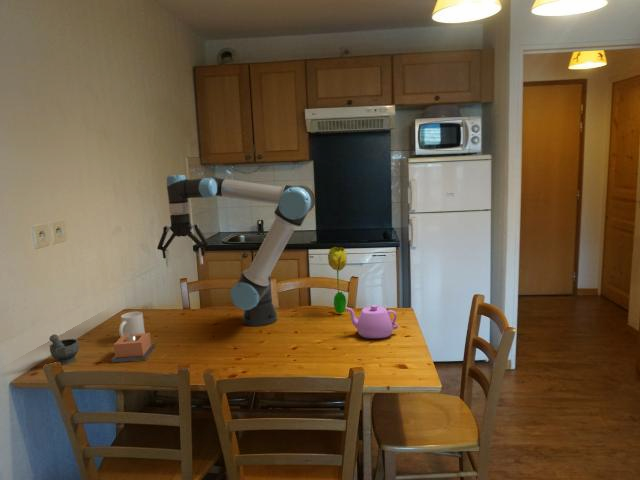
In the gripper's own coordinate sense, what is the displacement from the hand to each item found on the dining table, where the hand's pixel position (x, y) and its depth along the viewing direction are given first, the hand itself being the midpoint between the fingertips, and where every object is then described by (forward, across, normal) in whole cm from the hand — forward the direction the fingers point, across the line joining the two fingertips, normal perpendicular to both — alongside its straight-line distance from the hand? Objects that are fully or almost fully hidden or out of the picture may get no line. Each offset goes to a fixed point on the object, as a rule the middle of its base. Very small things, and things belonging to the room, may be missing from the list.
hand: (185, 264), depth 198 cm
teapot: (+29, -73, +19) cm, 81 cm away
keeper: (+29, +17, +22) cm, 40 cm away
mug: (+29, +24, +5) cm, 38 cm away
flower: (+29, -63, -8) cm, 70 cm away
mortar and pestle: (+29, +42, +24) cm, 56 cm away
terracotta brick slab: (+27, +17, +22) cm, 39 cm away
